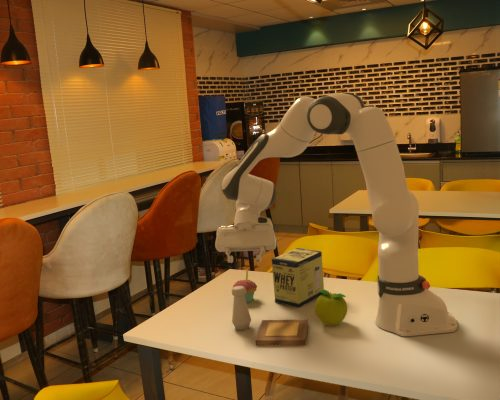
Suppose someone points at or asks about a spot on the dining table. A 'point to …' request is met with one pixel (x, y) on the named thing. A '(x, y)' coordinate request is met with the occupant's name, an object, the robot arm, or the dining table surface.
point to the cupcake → (247, 287)
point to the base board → (282, 332)
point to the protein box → (297, 277)
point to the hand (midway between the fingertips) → (244, 261)
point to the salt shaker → (240, 309)
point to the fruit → (331, 308)
